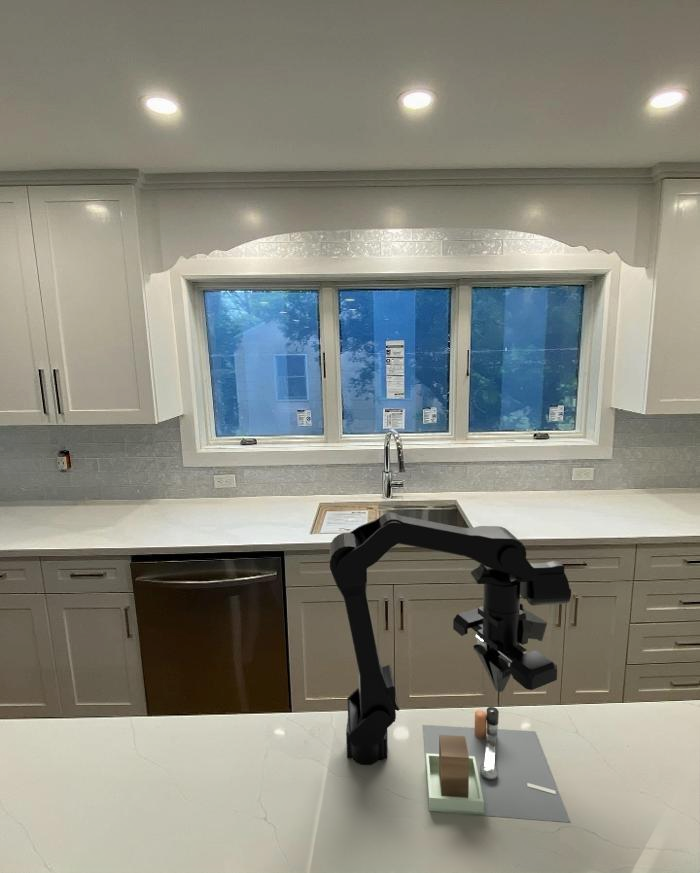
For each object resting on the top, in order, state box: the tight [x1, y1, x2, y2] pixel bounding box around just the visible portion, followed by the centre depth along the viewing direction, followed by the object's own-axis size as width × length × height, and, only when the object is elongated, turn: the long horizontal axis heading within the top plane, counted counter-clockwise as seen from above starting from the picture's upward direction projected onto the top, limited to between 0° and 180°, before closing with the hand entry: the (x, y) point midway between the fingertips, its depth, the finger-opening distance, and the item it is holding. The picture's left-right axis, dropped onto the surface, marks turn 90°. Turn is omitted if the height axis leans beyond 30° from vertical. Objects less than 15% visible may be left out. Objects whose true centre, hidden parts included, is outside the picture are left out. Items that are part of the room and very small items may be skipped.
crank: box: [480, 706, 500, 780], centre depth 75 cm, size 10×3×5 cm, turn 159°
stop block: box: [439, 735, 469, 798], centre depth 69 cm, size 4×4×7 cm
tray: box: [425, 753, 484, 816], centre depth 70 cm, size 8×8×2 cm
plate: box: [422, 709, 571, 824], centre depth 73 cm, size 20×16×5 cm
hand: (499, 690), depth 77 cm, fingers closed
